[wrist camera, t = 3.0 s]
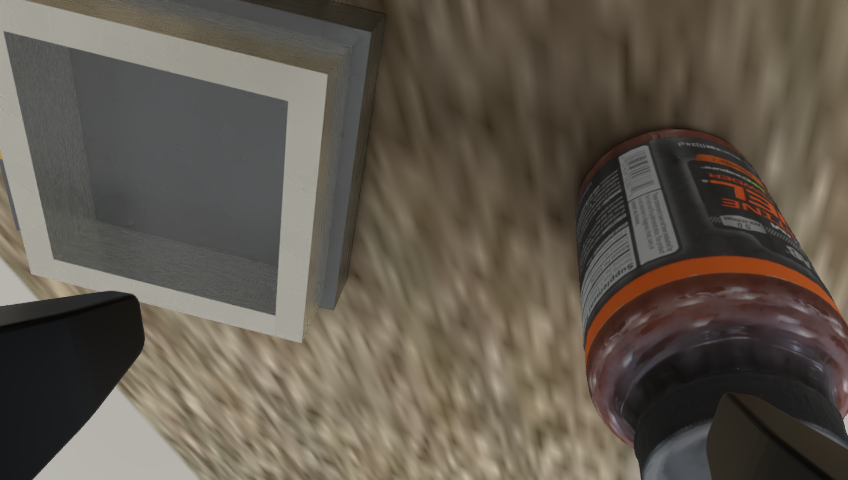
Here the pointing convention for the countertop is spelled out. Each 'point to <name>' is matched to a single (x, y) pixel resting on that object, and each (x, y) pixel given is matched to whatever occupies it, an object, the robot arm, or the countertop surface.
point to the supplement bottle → (698, 301)
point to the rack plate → (190, 149)
